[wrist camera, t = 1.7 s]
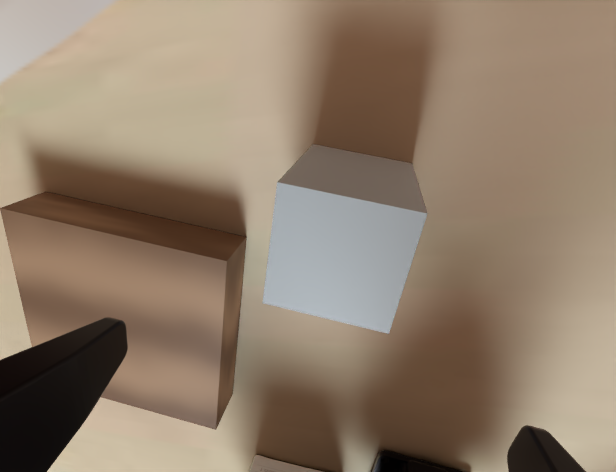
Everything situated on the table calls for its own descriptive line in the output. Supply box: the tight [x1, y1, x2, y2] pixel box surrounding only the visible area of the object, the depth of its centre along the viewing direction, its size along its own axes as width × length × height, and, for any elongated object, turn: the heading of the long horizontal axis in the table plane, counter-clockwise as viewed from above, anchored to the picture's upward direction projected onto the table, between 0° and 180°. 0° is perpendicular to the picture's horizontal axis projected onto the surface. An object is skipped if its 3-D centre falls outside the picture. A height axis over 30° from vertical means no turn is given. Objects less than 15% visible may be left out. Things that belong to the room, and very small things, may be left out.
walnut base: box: [0, 192, 246, 429], centre depth 24 cm, size 13×13×3 cm
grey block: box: [263, 144, 427, 334], centre depth 16 cm, size 5×5×7 cm
